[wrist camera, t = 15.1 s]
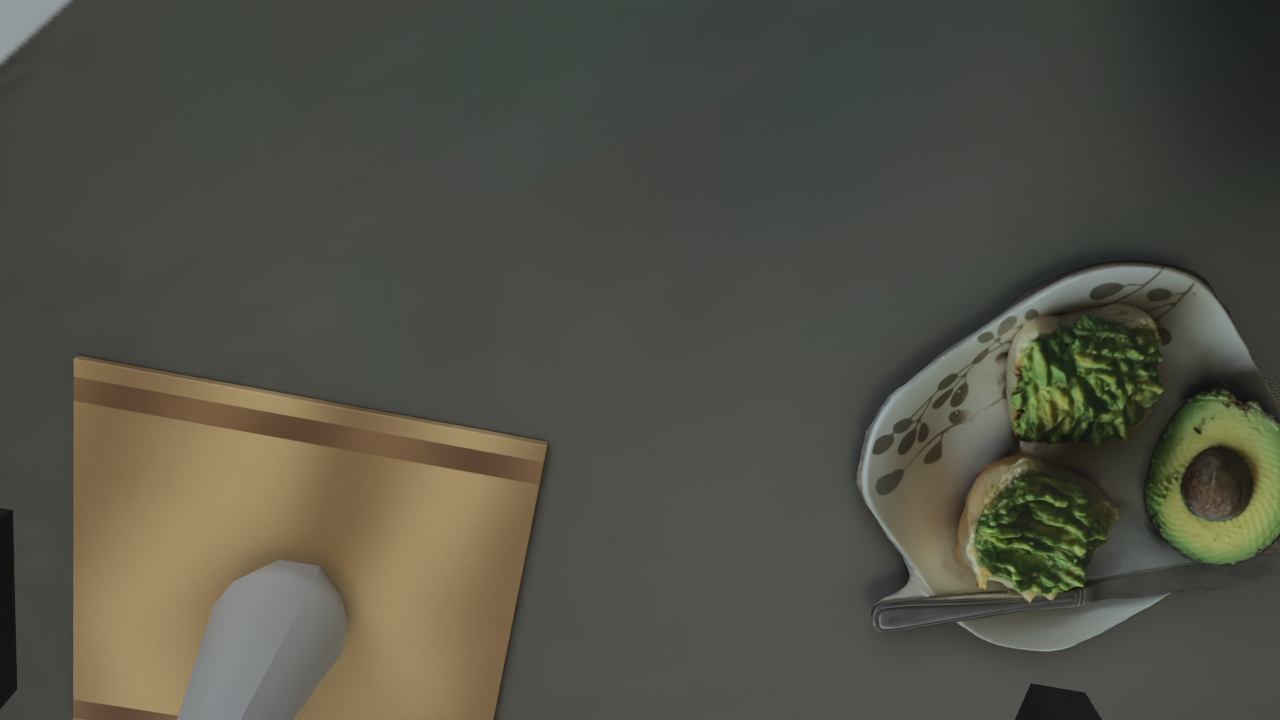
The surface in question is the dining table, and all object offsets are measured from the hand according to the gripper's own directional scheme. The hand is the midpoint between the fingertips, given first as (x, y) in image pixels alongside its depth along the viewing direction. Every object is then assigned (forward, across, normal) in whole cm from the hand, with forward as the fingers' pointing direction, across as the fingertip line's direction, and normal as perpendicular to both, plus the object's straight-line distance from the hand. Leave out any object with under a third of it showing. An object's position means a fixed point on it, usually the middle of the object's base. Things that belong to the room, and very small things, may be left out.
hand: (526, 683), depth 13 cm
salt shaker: (+28, -10, -21) cm, 37 cm away
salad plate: (+29, +23, -7) cm, 38 cm away
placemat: (+29, -10, -21) cm, 37 cm away
